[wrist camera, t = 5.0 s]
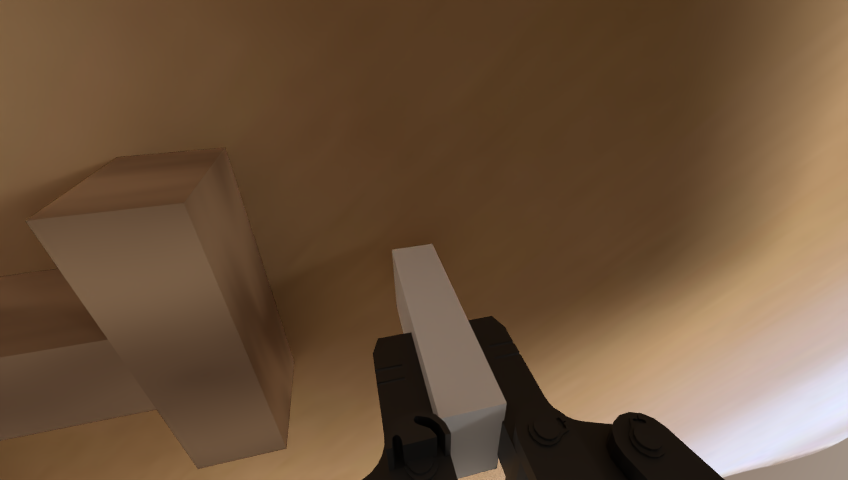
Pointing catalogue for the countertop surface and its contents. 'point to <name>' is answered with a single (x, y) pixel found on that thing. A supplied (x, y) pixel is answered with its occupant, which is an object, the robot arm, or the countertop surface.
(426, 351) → the robot arm
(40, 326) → the tee block
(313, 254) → the countertop surface
